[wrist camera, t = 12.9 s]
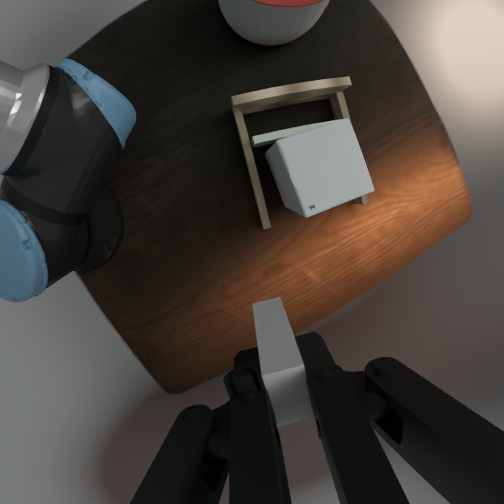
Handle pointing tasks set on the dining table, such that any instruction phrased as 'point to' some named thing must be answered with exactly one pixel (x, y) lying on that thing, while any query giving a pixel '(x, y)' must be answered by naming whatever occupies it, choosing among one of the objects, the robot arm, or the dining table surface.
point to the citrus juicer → (271, 19)
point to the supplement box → (319, 168)
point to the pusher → (284, 134)
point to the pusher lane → (280, 98)
